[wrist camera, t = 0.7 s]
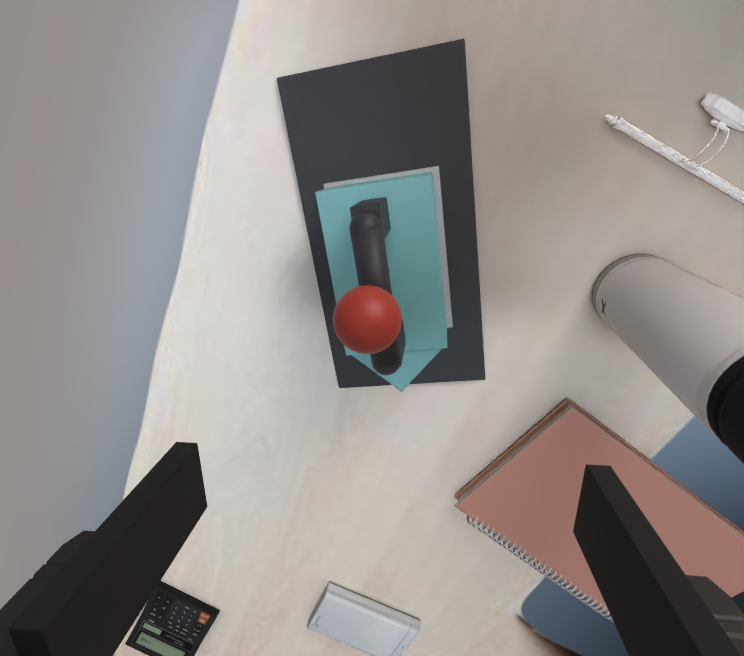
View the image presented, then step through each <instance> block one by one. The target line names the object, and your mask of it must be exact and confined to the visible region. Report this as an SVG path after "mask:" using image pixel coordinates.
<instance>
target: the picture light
mask: <svg viewBox="0 0 744 656" xmlns="http://www.w3.org/2000/svg"><path fill="white" fill-rule="evenodd" d="M701 106H703V108H704V109H705V110H706V111H708V112H709V113H710V114H711V115H712V116H713V117H714V118H715V119H717V120H718V121H716V120H715V119H713V120H711V122H710V123H711V124H712V125H714V126H716V127H717V130H716V133H715V135H714V136H713V138H712V140H711V141H710V142H709V143H708V145H707V146H706V147H705V148H704V149H703V150H702V151H700V152H699V153H698V154H697V155H696V156H694V157H693V158H691V159H688V158H687V157H685V156H683V155H682V154H680V153H678V152H677V151H675V150H673V149H672V148H670V147H668V146H667V145H665V144H663V143H662V142H660V141H658V140H657V139H655V138H653V137H652V136H650V135H648V134H647V133H645V132H643V131H641V130H640V129H638V128H636V127H635V126H633V125H631V124H630V123H628V122H626V121H625V119H623V118H621V117H620V118H619V119H618V117H617V116H614V115H611V114H609V115H607V114H605V115H604V117H606V121H607V122H609V124H610V125H613V124H614V126H613V128H615V129H617V130H620V131H622V132H623V133H625V134H627V135H628V136H630V137H632V138H633V139H635V140H637V141H638V142H640V143H642V144H644V145H645V146H647V147H649V148H650V149H652V150H654V151H655V152H657V153H659V154H660V155H662V156H664V157H665V158H667V159H669V160H670V161H672V162H674V163H675V164H677V165H679V166H681V167H682V168H684V169H686V170H687V171H689V172H691V173H692V174H694V175H696V176H697V177H699V178H701V179H702V180H704V181H706V182H707V183H709V184H711V185H712V186H714V187H716V188H718V189H719V190H721V191H723V192H724V193H726V194H728V195H729V196H731V197H733V198H734V199H736V200H738V201H739V202H741V203H743V204H744V191H742V190H740V189H739V188H737V187H735V186H734V185H732V184H730V183H729V182H727V181H725V180H724V179H722V178H720V177H719V176H717V175H715V174H714V173H712V172H710V171H709V170H707V169H705V168H704V167H702V166H703V165H704V164H706V163H707V162H709V161H710V160H711V159H712V158H713V157H715V156H716V155H717V154H718V153H719V152H720V150H721V149H722V148H723V147H724V145H725V144H726V142H727V140H728V138H729V135H730V132H729V131H730V128H728V127H731V128H733V129H736V130H740V131H744V110H742V109H741V108H739V107H738V106H736V105H734V104H733V103H731V102H729V101H728V100H727V99H726V98H724V97H722V96H719V95H716V94H714V93H708V94H707V96H706V97H705V98H704V100H703V101H702V102H701ZM617 119H618V120H617ZM726 125H727V126H728V127H726ZM719 129H721V130H722V131H724V132H726V133H727V137H726V140H725V142H724V143H723V145H722V146H721V148H720V149H719V150H718V151H717V152H716V153H715V154H714V155H713V156H712V157H711V158H710V159H708V160H707V161H706V162H704V163H703V164H701V165H699V164H697V163H695V162H693V161H692V159H694V158H696V157H697V156H698V155H700V154H701V153H702V152H703V151H704V150H705V149H706V148H707V147H708V146H709V145H710V144H711V143H712V141H713V140H714V138H715V137H716V135H717V133H718V131H719Z"/></svg>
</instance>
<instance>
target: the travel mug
mask: <svg viewBox="0 0 744 656" xmlns="http://www.w3.org/2000/svg"><path fill="white" fill-rule="evenodd" d="M592 300H593V306H594V308H595V311H596V312H597V314H598V315H599V317H600V318H601V319H602V320H603V321H604V322H605V323H606V324H607V325H608V326H609V327H610V328H611V329H612V330H613V331H614V332H615V333H616V334H617V335H618V336H619V337H620V338H621V339H622V340H623V342H624V343H625V344H626V345H627V346H628V347H629V348H630V349H631V350H632V351H633V352H634V353H635V354H636V355H637V356H638V357H639V358H640V359H641V360H642V361H643V362H644V363H645V364H646V365H647V366H648V367H649V368H650V369H651V371H652V372H653V373H654V374H655V375H656V376H657V377H658V378H659V379H660V380H661V381H662V382H663V383H664V384H665V385H666V386H667V387H668V388H669V389H670V390H671V391H672V392H673V393H674V394H675V395H676V396H677V397H678V398H679V400H680V401H681V402H682V403H683V404H684V405H685V406H686V407H687V408H688V409H689V410H690V411H691V412H692V413H693V414H694V415H695V416H696V417H697V418H698V419H699V420H700V421H701V422H702V423H703V424H704V425H705V426H706V427H707V428H708V429H709V430H710V432H711V433H712V434H713V435H714V436H715V437H717V438H718V439H719V440H720V441H721V442H722V443H723V444H725V445H726V446H727V447H728V448H729V449H730V450H731V451H732V452H733V453H734V454H735V455H736V456H737V457H738V458H739V459H740V460H741V461H742V462H743V463H744V298H742V297H740V296H737V295H735V294H733V293H731V292H729V291H727V290H725V289H723V288H721V287H719V286H717V285H715V284H713V283H710V282H708V281H706V280H704V279H702V278H700V277H698V276H696V275H694V274H692V273H690V272H688V271H686V270H683V269H681V268H679V267H677V266H675V265H673V264H671V263H669V262H667V261H665V260H663V259H661V258H658V257H655V256H652V255H646V254H637V255H631V256H627V257H624V258H622V259H619V260H617V261H616V262H614V263H612V264H611V265H610V266H608V267H607V268H606V269H605V270H604V271H603V272H602V274H601V275H600V276H599V278H598V279H597V281H596V283H595V286H594V289H593V295H592Z"/></svg>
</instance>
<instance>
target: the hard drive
mask: <svg viewBox="0 0 744 656" xmlns="http://www.w3.org/2000/svg"><path fill="white" fill-rule="evenodd" d="M307 628H308V629H310V630H313V631H315V632H318V633H320V634H322V635H325V636H327V637H330V638H332V639H335V640H337V641H339V642H341V643H344V644H346V645H349V646H351V647H353V648H356V649H358V650H361V651H363V652H365V653H368V654H370V655H373V656H402V654H403V653H404V652H405V650H406V649H407V648H408V646H409V645H410V644H411V642H412V641H413V639H414V638H415V637H416V635H417V634H418V632H419V630H420V620H418V619H415V618H413V617H410V616H408V615H406V614H403V613H401V612H398V611H396V610H394V609H391V608H389V607H386V606H384V605H382V604H379V603H377V602H375V601H372V600H370V599H368V598H365V597H363V596H360V595H358V594H355V593H353V592H351V591H348V590H346V589H343V588H341V587H339V586H336V585H334V584H332V583H328V585H327V587H326V588H325V590H324V592H323V594H322V596H321V598H320V599H319V601H318V603H317V605H316V607H315V608H314V610H313V612H312V614H311V616H310V618H309V621H308V625H307Z"/></svg>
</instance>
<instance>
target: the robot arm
mask: <svg viewBox="0 0 744 656" xmlns="http://www.w3.org/2000/svg"><path fill="white" fill-rule="evenodd" d="M206 508H207V502H206V495H205V489H204V483H203V476H202V470H201V464H200V457H199V451H198V445H197V443H185V442H176V443H175V444H174V445H173V446H172V447H171V449H170V450H169V451H168V452H167V453H166V454H165V455H164V456H163V457H162V458H161V460H160V461H159V462H158V463H157V464H156V465H155V466H154V467H153V468H152V469H151V470H150V472H149V473H148V474H147V475H146V476H145V477H144V478H143V479H142V480H141V481H140V483H139V484H138V485H137V486H136V487H135V488H134V489H133V490H132V491H131V492H130V494H129V495H128V496H127V497H126V498H125V499H124V500H123V501H122V502H121V504H120V505H119V506H118V507H117V508H116V509H115V510H114V511H113V512H112V513H111V515H110V516H109V517H108V518H107V519H106V520H105V521H104V522H103V523H102V524H101V526H99V528H98V529H97V530H96V531H95V532H94V531H83V532H81V533H80V534H78V535H77V536H75V537H74V538H72V539H71V540H69V541H68V542H66V543H65V544H63V545H62V546H61V547H60V548H59V549H58V550H57V551H56V552H55V554H54V555H53V556H52V557H51V558H50V559H49V560H48V561H47V564H46V565H43V566H42V567H41V568H40V569H39V570H38V571H37V572H36V573H35V574H34V577H33V578H32V579H29V581H28V582H26V584H25V585H24V586H23V587H22V588H21V589H20V590H19V591H18V592H17V593H16V594H15V595H14V596H13V597H12V598H11V599H10V600H9V601H8V602H7V603H6V604H5V605H4V606H3V607H2V608H1V610H0V656H113V654H114V653H115V651H116V650H117V648H118V646H119V645H120V643H121V642H122V640H123V638H124V637H125V635H126V634H127V632H128V631H129V629H130V627H131V626H132V624H133V623H134V621H135V620H136V618H137V616H138V615H139V613H140V612H141V610H142V609H143V607H144V605H145V604H146V602H147V601H148V599H149V598H150V596H151V594H152V593H153V591H154V590H155V588H156V587H157V585H158V583H159V582H160V580H161V579H162V577H163V576H164V574H165V572H166V571H167V569H168V568H169V566H170V565H171V563H172V561H173V560H174V558H175V557H176V555H177V554H178V552H179V550H180V549H181V547H182V546H183V544H184V542H185V541H186V539H187V538H188V536H189V535H190V533H191V531H192V530H193V528H194V527H195V525H196V524H197V522H198V520H199V519H200V517H201V516H202V514H203V513H204V511H205V509H206ZM573 533H574V535H575V537H576V540H577V542H578V544H579V546H580V548H581V551H582V553H583V555H584V557H585V559H586V562H587V564H588V566H589V568H590V570H591V573H592V575H593V577H594V579H595V582H596V584H597V586H598V588H599V590H600V593H601V595H602V597H603V599H604V601H605V604H606V606H607V608H608V610H609V613H610V615H611V617H612V619H613V621H614V624H615V626H616V628H617V630H618V632H619V635H620V637H621V639H622V641H623V643H624V646H625V648H626V650H627V652H628V655H629V656H744V614H743V613H742V612H741V610H740V609H739V608H738V607H737V605H736V604H735V602H734V601H733V600H732V598H731V597H730V596H729V595H728V594H727V593H726V592H724V591H723V590H722V589H721V588H720V587H718V586H717V585H716V584H715V583H714V582H713V581H711V580H710V579H709V578H708V577H707V576H693V575H685V573H684V572H683V570H682V569H681V567H680V566H679V565H678V563H677V562H676V560H675V559H674V557H673V556H672V554H671V553H670V551H669V550H668V549H667V547H666V546H665V544H664V543H663V541H662V540H661V538H660V537H659V535H658V534H657V533H656V531H655V530H654V528H653V527H652V525H651V524H650V522H649V521H648V519H647V518H646V517H645V515H644V514H643V512H642V511H641V509H640V508H639V506H638V505H637V504H636V502H635V501H634V499H633V498H632V496H631V495H630V493H629V492H628V490H627V489H626V488H625V486H624V485H623V483H622V482H621V480H620V479H619V477H618V476H617V474H616V473H615V472H614V470H613V469H612V467H611V466H607V465H589V464H586V466H585V471H584V476H583V481H582V487H581V492H580V497H579V502H578V507H577V513H576V518H575V523H574V528H573Z"/></svg>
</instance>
